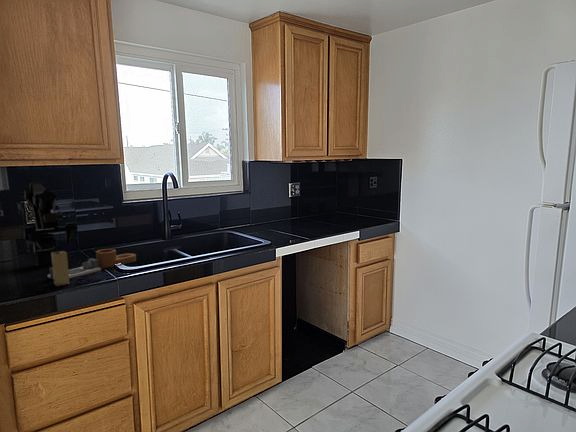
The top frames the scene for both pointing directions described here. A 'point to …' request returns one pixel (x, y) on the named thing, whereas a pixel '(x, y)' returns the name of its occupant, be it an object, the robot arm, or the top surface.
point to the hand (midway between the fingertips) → (55, 247)
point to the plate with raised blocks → (81, 269)
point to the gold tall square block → (60, 268)
